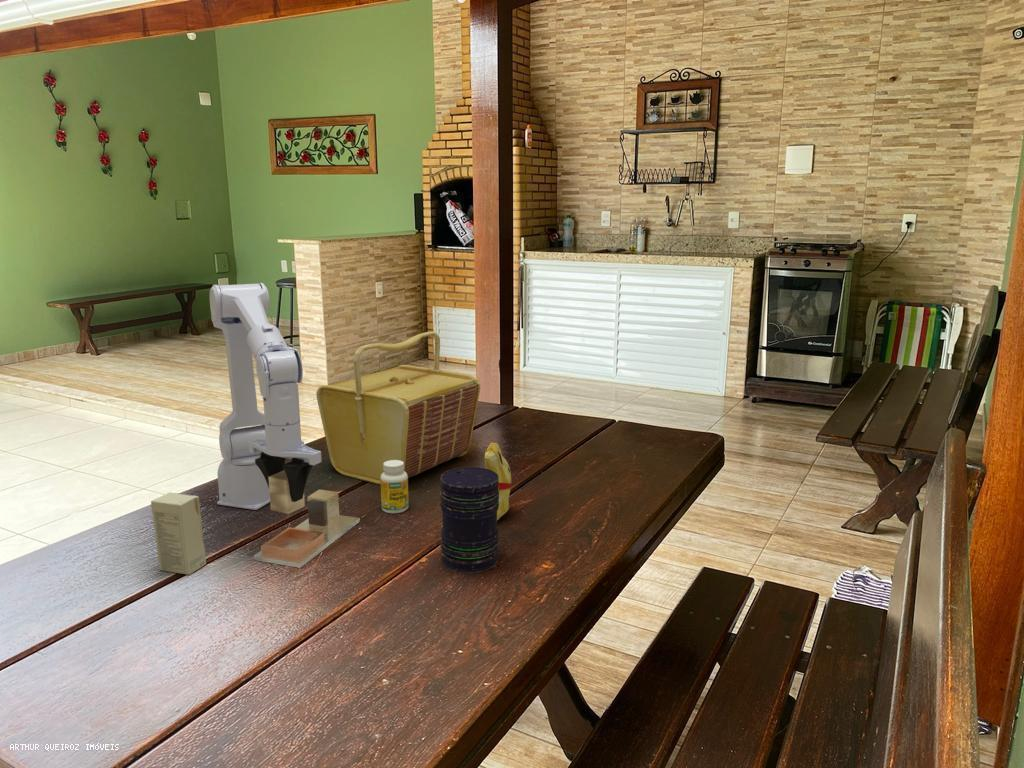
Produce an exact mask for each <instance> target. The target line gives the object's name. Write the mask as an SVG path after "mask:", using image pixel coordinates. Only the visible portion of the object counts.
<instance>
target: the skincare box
mask: <svg viewBox="0 0 1024 768" xmlns="http://www.w3.org/2000/svg"><path fill="white" fill-rule="evenodd" d="M150 506H151V512H152V519H153V528H154V536H155V537H154V538H155V542H156V543H155V544H156V551H157V558H158V566H159V570H160V571H164V572H170V573H175V574H176V573H177V574H180V575H181V574H182V575H191V574H192V573H194V572H196V571H198V570H200V568H203V566H205V565H207V559H206V550H205V548H206V547H205V542H204V541H205V539H204V531H203V523H202V515H201V506H200V497H199V496H198V495H193V494H186V493H178V492H168V493H166V494H163V495H161V496H159V497H157V498H155V499H152V500H151V501H150Z"/></svg>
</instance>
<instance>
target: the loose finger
mask: <svg viewBox="0 0 1024 768" xmlns="http://www.w3.org/2000/svg"><path fill="white" fill-rule="evenodd" d="M305 489H306V488H305ZM305 489H304V494H303V499H300V500H298V501H296V502H292V500H291V497H290V490H289V483H288V479H287V475H286V473H285V471H281V472H279V473H276V474H274V475H271V476H269V492H270V502H269V503H270V506H269V507H270V510H271V511H275V512H279V513H283V514H286V515H290V514H292V513H294V512H296V511H297V510H300V509H302V508H304V507H305V505H306V504H305V500H306V493H305V491H306V490H305Z"/></svg>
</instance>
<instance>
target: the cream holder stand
mask: <svg viewBox="0 0 1024 768" xmlns="http://www.w3.org/2000/svg"><path fill="white" fill-rule="evenodd" d="M307 512H308V518H307V519H305V520H304V521H302V522H301V523H299V524H298V525H296V526H294V527H291V526H288V527H287V528H285V529H284V530H282V531H280V532H279V533H277V535H275V536H273V537H272V538H270V539H269V540H268V541H266V542H264V543H263V544H261V545H260V550H259V551H258V552H256V553H255V554H253V560H254V561H259V562H264V563H269V564H275V565H282V566H287V567H292V568H293V567H294V568H299V569H301V568H302V567H303V566H305V565H306V564H308V562H310V561H311V560H312V559H314V558H315V557H316V556H317V555H319V554H320V553H321V552H322V551H324V550H325V549H326V548H328V547H329V546H330V545H331V544H333V543H334V542H336V541H337V540H338V539H340V538H341V537H342V536H343V535H345V534H346V533H348V532H349V531H350V530H351V529H352V528H354V527H355V526H356V525H357V524H359V523H360V517H356V516H348V515H342V514H340V504H339V492H338V491H334V490H327V489H326V490H325V489H317V490H316V491H314V492H313V493H311V494H310V495H308V496H307Z"/></svg>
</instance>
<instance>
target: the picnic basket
mask: <svg viewBox="0 0 1024 768" xmlns="http://www.w3.org/2000/svg"><path fill="white" fill-rule="evenodd" d="M431 336H432V337H433V340H434V350H433V351H434V354H433V368H428V367H422V366H415V365H408V364H400V365H398V366H396V367H392V368H388V369H383V370H380V371H377V372H372V373H369V374H365V375H362V374H361V367H360V366H361V365H360V358H361V354H362V353H363V352H364V351H367V350H372V349H379V350H381V351H384V352H395V351H402V350H405V349H407V348H411V347H412V346H415V345H416V344H417V343H418V342H419V341H420V340H421V339H423V338H426V337H431ZM440 355H441V338H440V335H439V334H438V333H437V332H435V331H427V332H422V333H419V334H417V335H415V336H412V337H410V338H408V339H406V340H405V341H402V342H397V343H382V342H381V343H379V342H376V343H375V342H374V343H370V344H365V345H362V346H359V347H358V348H357V350H356V351H354V353H353V359H352V364H353V372H354V377H352V378H350V379H349V378H348V379H346V380H345V379H344V380H342V381H338V382H334V383H330V384H327V385H326V384H324V385H323V384H322V385H321V386H319V387H318V388H317V389H316V390H317V391H316V393H315V394H316V400H317V405H318V410H319V414H320V415H319V416H320V419H321V424H322V429H323V433H324V436H325V442H326V445H327V450H328V455H329V460H330V462H331V465H332V467H334V469H335V470H336V472H338V473H339V474H341V475H343V476H345V477H346V476H347V477H350V478H354V479H358V480H361V481H365V482H369V483H372V484H376V485H380V486H381V480H380V477H381V475H382V473H383V472H385V471H384V470H383V463H384V462H386V461H390V460H400V461H403V462H404V470H403V471H405V472H406V473H407V475H408V479H410V478H413V477H414V476H418V475H419V474H421V473H424V472H425V471H428V470H430V469H432V468H435V467H436V466H438V465H441V464H444V463H445V462H448V461H450V460H452V459H455V458H460V457H462V456H464V455H465V454H467V453H468V451H469V449H470V446H471V442H472V436H473V430H474V424H475V419H476V414H477V409H478V405H479V404H478V403H479V398H480V394H481V382H480V380H479V379H478V378H477V377H476V376H475V375H471V374H469V373H463V372H458V371H457V372H456V371H448V370H443V369H440Z"/></svg>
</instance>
